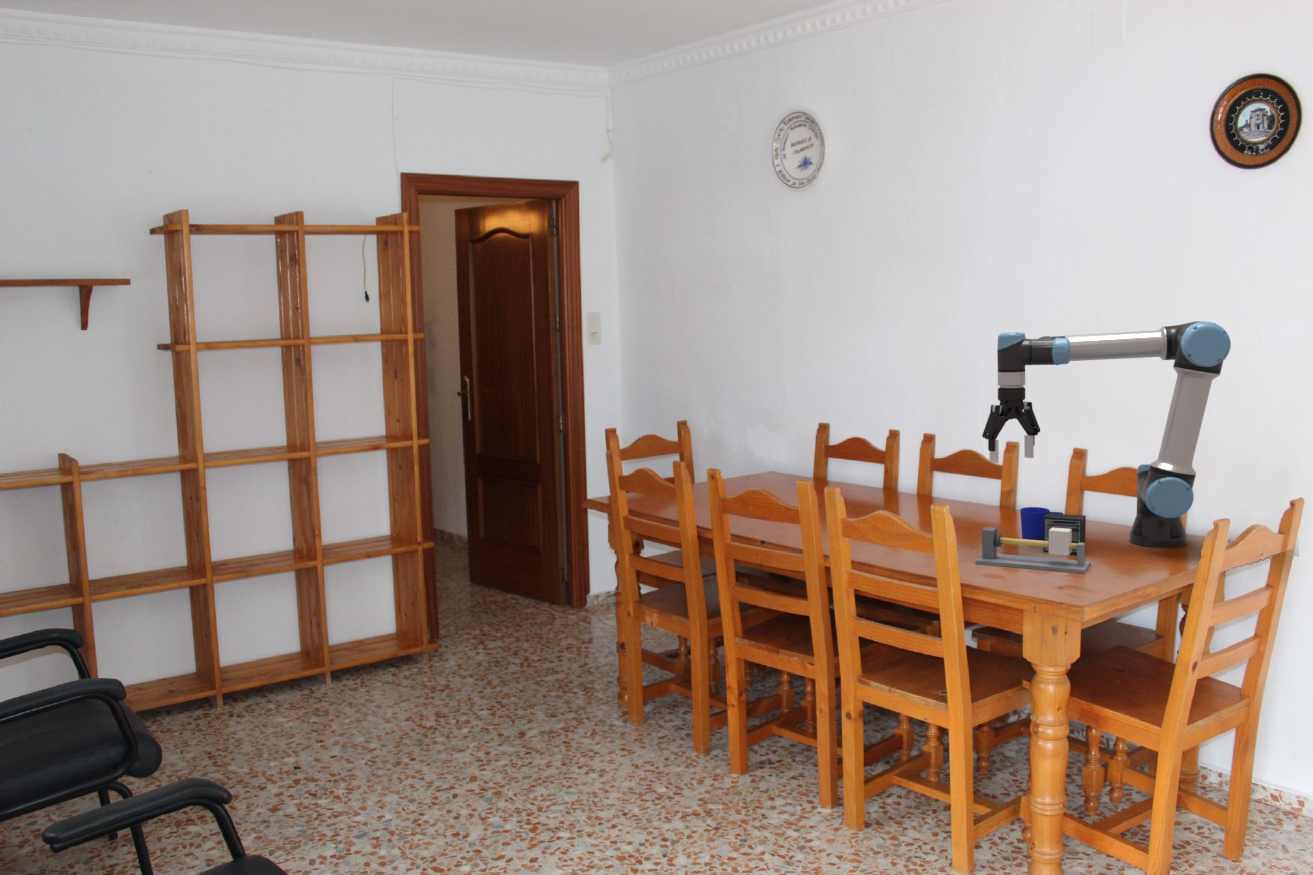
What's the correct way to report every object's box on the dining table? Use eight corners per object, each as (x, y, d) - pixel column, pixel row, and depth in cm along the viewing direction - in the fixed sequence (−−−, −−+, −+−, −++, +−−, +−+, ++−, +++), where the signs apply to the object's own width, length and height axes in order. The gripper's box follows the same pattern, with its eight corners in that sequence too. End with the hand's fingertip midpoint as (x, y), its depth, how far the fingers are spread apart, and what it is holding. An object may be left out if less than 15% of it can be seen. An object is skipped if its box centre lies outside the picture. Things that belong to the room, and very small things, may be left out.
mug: (1065, 546, 306) (1066, 512, 305) (1022, 545, 308) (1022, 512, 307) (1060, 540, 314) (1061, 507, 313) (1018, 539, 316) (1018, 506, 315)
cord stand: (1090, 565, 283) (1091, 532, 282) (1084, 573, 274) (1085, 539, 273) (984, 556, 297) (984, 524, 296) (975, 563, 289) (975, 531, 288)
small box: (1086, 550, 299) (1086, 514, 298) (1082, 555, 294) (1083, 518, 293) (1047, 547, 305) (1047, 512, 304) (1042, 552, 299) (1043, 516, 298)
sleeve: (1071, 552, 282) (1071, 528, 282) (1068, 555, 279) (1068, 531, 278) (1051, 550, 285) (1052, 527, 284) (1048, 553, 281) (1048, 530, 280)
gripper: (1033, 383, 310) (1033, 454, 312) (969, 389, 299) (969, 462, 301) (1053, 384, 303) (1053, 457, 306) (988, 390, 292) (988, 465, 295)
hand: (1011, 460), depth 303 cm, fingers open, 13 cm apart
